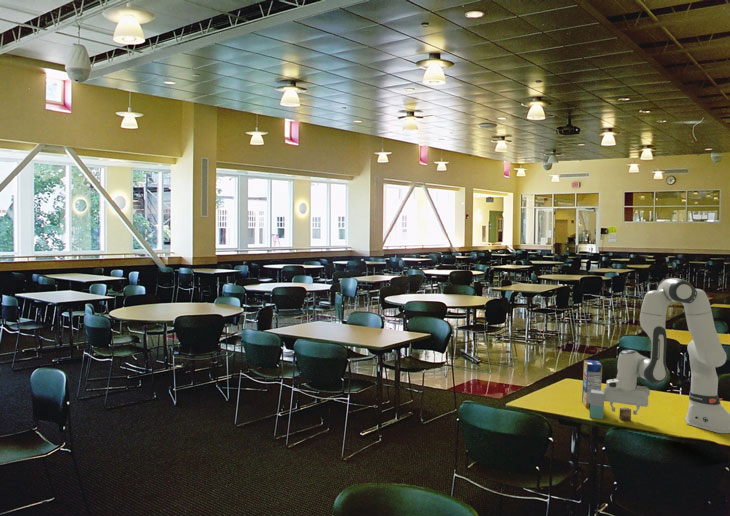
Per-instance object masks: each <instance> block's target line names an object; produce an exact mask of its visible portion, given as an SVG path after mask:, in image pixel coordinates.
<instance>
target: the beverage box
mask: <svg viewBox="0 0 730 516" xmlns="http://www.w3.org/2000/svg"><path fill="white" fill-rule="evenodd" d="M582 373H583V375H582V392H581V393H582V395H581V403H582V404H583V406H584V407H585V408H589V409H590V401H591V390H599V391H602V381H603V380H602V379H603V377H602V376H603V364H601V362H600V361H599V360H595V359H593V360H592V359H583V372H582Z"/></svg>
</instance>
